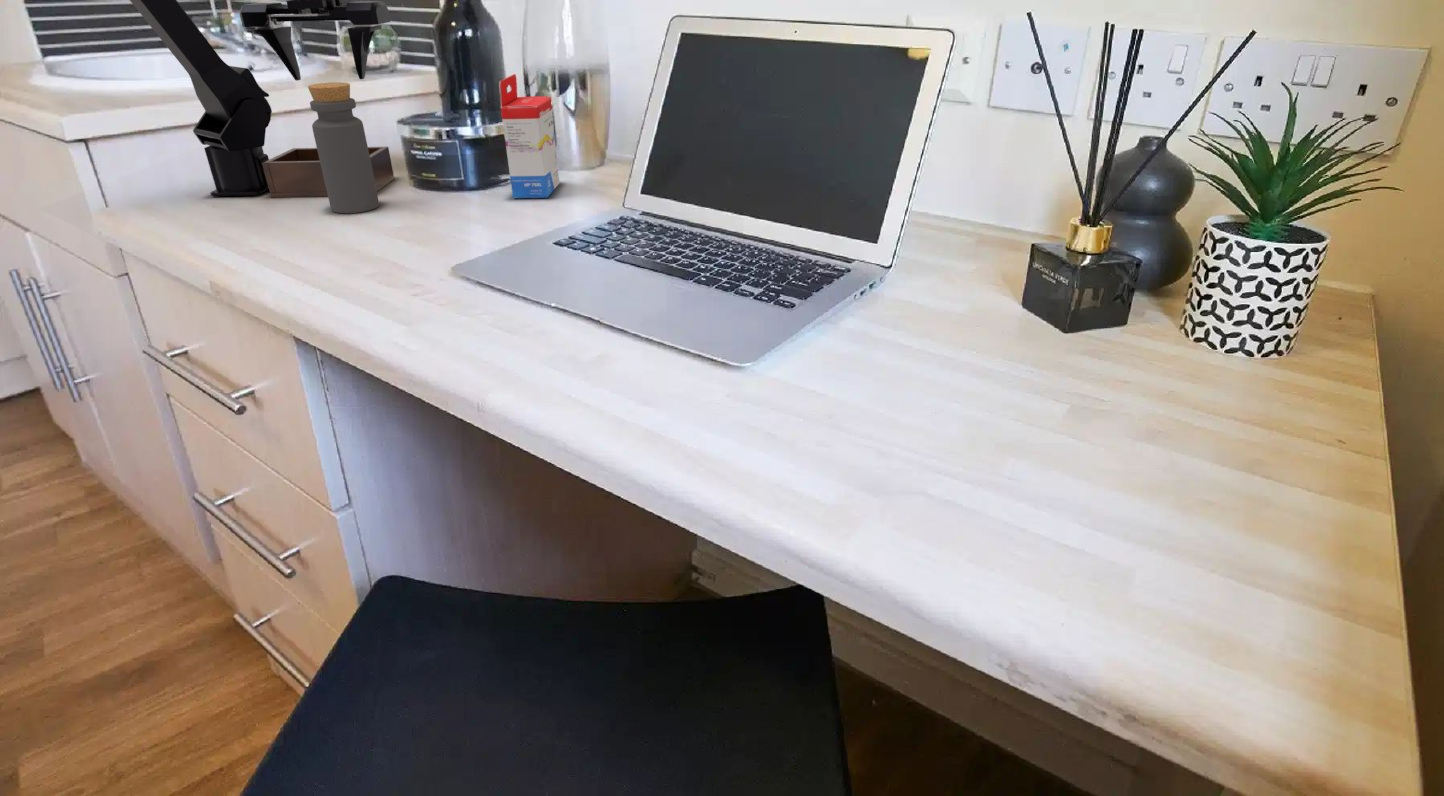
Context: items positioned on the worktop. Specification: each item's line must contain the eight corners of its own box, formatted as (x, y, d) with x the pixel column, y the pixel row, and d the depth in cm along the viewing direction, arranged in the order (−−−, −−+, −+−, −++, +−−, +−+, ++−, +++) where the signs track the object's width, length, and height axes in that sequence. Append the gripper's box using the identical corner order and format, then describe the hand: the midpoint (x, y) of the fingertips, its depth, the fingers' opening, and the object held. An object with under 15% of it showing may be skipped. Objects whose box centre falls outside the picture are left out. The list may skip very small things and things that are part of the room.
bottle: (384, 208, 108) (359, 85, 101) (336, 216, 105) (307, 89, 98) (373, 199, 112) (348, 80, 105) (326, 206, 109) (298, 84, 102)
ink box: (548, 198, 111) (535, 81, 104) (511, 199, 111) (495, 81, 104) (560, 183, 119) (549, 72, 112) (526, 183, 119) (512, 73, 112)
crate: (270, 197, 114) (261, 162, 112) (300, 180, 122) (292, 148, 120) (371, 195, 114) (364, 161, 112) (394, 178, 122) (388, 146, 120)
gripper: (391, -44, 122) (411, 71, 129) (262, -42, 122) (289, 73, 129) (364, -44, 112) (387, 81, 119) (223, -41, 112) (255, 83, 119)
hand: (330, 79), depth 122 cm, fingers open, 9 cm apart
